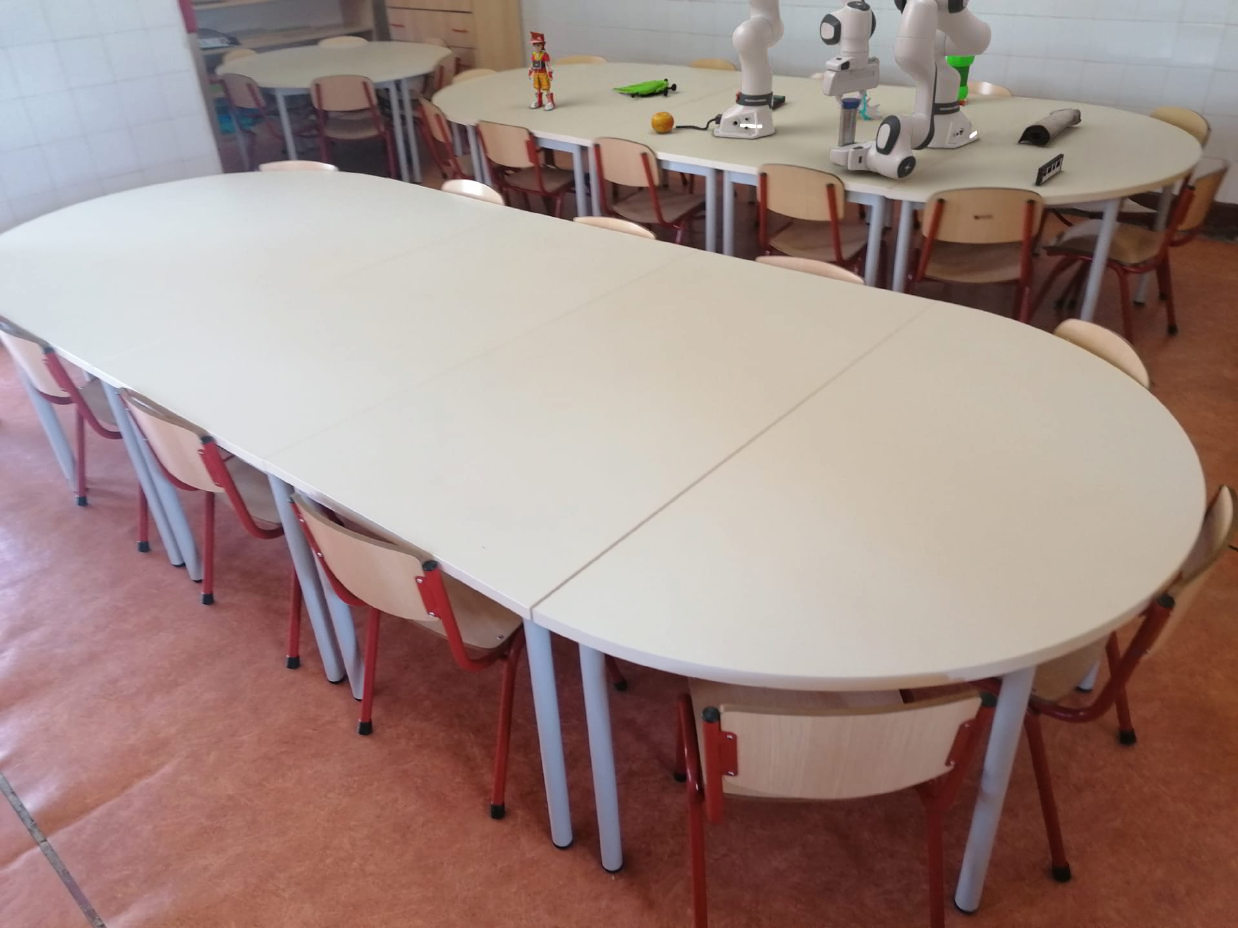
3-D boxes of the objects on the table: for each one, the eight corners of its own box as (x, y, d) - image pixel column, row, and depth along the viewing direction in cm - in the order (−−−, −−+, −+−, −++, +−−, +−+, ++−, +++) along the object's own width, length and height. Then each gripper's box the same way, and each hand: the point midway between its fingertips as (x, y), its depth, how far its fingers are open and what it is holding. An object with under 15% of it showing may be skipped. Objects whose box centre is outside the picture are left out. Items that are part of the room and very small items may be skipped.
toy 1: (525, 109, 381) (517, 32, 364) (534, 104, 388) (527, 28, 371) (550, 110, 377) (543, 32, 360) (559, 105, 384) (553, 28, 367)
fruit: (644, 124, 337) (655, 105, 334) (651, 127, 345) (662, 108, 342) (662, 136, 336) (673, 117, 333) (668, 139, 344) (680, 120, 341)
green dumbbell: (973, 101, 354) (984, 32, 339) (955, 106, 349) (966, 36, 335) (952, 97, 361) (962, 29, 346) (934, 102, 356) (944, 33, 342)
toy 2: (686, 85, 398) (631, 84, 414) (685, 72, 395) (629, 72, 411) (651, 104, 381) (596, 103, 397) (650, 92, 378) (594, 91, 394)
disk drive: (770, 111, 358) (785, 102, 368) (771, 104, 356) (785, 95, 366) (747, 109, 362) (762, 100, 372) (747, 102, 361) (762, 93, 371)
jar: (845, 166, 295) (851, 104, 283) (833, 163, 298) (838, 101, 287) (855, 163, 297) (861, 101, 286) (843, 160, 301) (848, 98, 289)
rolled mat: (1047, 113, 322) (1072, 96, 314) (1061, 134, 323) (1087, 117, 314) (1013, 137, 305) (1039, 118, 297) (1028, 159, 305) (1054, 142, 297)
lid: (850, 110, 284) (851, 103, 283) (836, 107, 288) (836, 100, 287) (863, 106, 287) (863, 99, 286) (848, 103, 291) (848, 96, 290)
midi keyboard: (1039, 185, 269) (1043, 168, 266) (1035, 184, 270) (1038, 168, 267) (1060, 170, 279) (1064, 154, 277) (1056, 169, 280) (1060, 153, 277)
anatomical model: (845, 88, 346) (871, 81, 345) (848, 116, 352) (873, 109, 351) (857, 98, 334) (883, 90, 333) (859, 126, 340) (885, 119, 339)
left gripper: (873, 54, 285) (868, 100, 293) (821, 63, 278) (818, 109, 286) (886, 57, 281) (881, 103, 289) (834, 66, 274) (830, 113, 281)
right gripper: (898, 139, 287) (869, 130, 297) (848, 151, 280) (820, 141, 290) (896, 159, 290) (867, 150, 301) (846, 171, 283) (818, 161, 293)
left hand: (849, 106), depth 287 cm, fingers closed on lid, 6 cm apart
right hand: (844, 146), depth 295 cm, fingers closed on jar, 5 cm apart
